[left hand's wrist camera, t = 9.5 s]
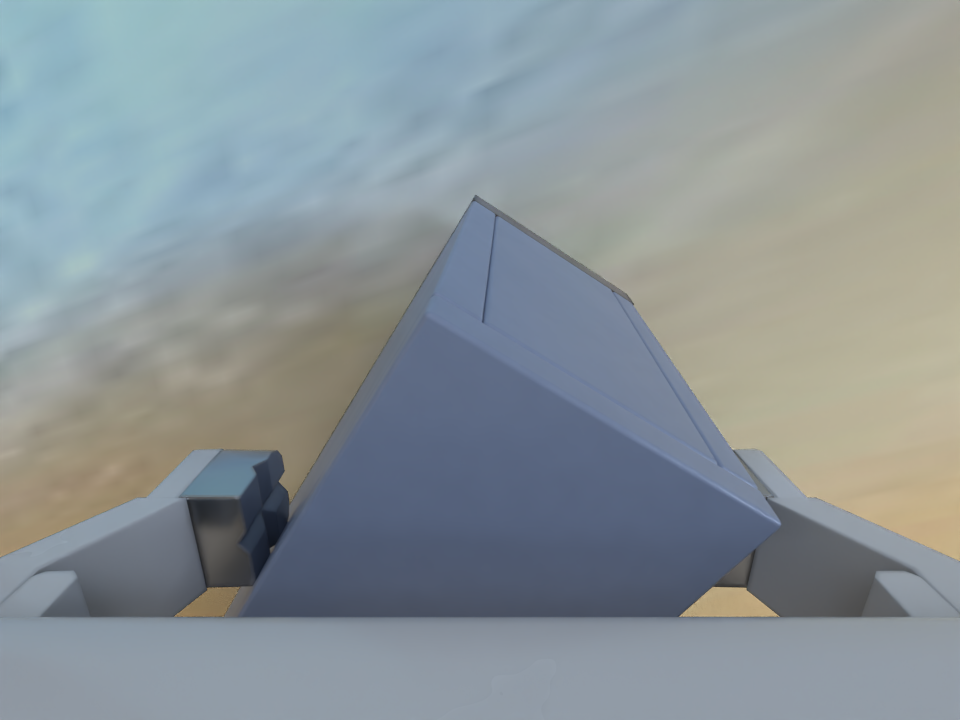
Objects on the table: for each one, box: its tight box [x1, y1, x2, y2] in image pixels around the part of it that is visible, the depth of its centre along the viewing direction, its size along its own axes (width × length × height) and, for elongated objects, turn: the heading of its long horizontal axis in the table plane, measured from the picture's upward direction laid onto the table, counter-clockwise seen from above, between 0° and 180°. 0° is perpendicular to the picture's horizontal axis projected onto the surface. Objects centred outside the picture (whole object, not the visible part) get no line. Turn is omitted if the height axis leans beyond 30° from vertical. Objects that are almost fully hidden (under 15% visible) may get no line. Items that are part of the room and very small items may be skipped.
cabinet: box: [224, 195, 781, 617], centre depth 14 cm, size 17×5×10 cm, turn 148°
